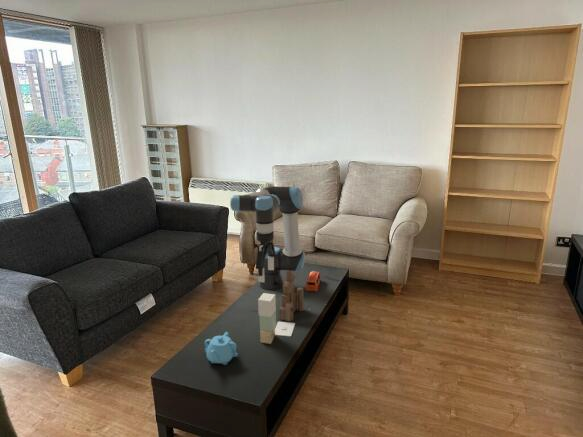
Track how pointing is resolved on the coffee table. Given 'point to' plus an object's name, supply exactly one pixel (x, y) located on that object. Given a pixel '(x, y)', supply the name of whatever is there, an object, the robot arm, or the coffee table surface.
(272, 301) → the cream block
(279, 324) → the page
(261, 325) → the sage block
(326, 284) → the coffee table surface
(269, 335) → the maple base block
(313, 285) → the toy bus
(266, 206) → the robot arm
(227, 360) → the teapot
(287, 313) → the wooden toy
